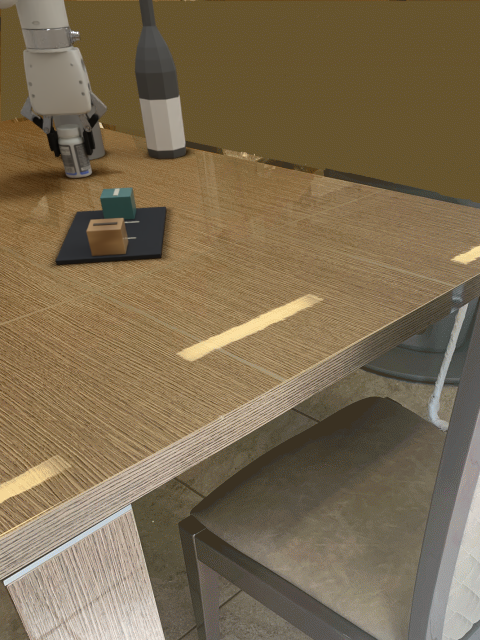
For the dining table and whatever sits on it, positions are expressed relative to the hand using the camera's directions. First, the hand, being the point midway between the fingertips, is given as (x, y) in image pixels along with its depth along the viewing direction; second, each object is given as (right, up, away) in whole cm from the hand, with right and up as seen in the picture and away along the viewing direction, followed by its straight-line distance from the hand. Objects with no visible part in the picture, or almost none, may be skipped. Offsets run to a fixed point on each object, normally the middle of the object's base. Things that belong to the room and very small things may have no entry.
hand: (74, 153), depth 118 cm
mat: (+15, -22, -22) cm, 35 cm away
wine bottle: (+14, +6, +14) cm, 20 cm away
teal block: (+14, -17, -17) cm, 28 cm away
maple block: (+16, -26, -28) cm, 41 cm away
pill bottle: (0, -3, +2) cm, 4 cm away
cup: (-3, +5, +13) cm, 15 cm away
